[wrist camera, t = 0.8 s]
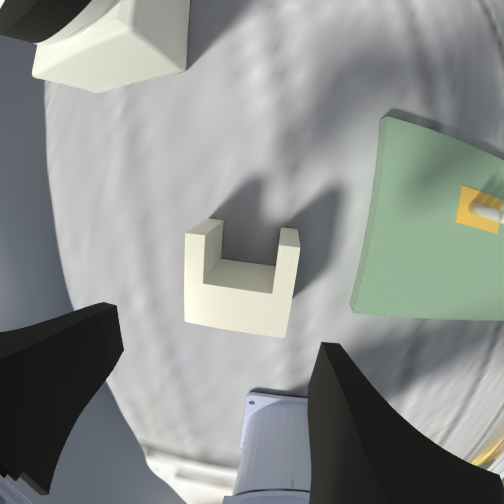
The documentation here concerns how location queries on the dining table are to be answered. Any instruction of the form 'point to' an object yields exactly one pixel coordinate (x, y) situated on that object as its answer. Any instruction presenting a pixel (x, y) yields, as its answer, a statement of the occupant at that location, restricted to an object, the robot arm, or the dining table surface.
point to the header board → (432, 229)
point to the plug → (238, 284)
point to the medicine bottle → (100, 39)
